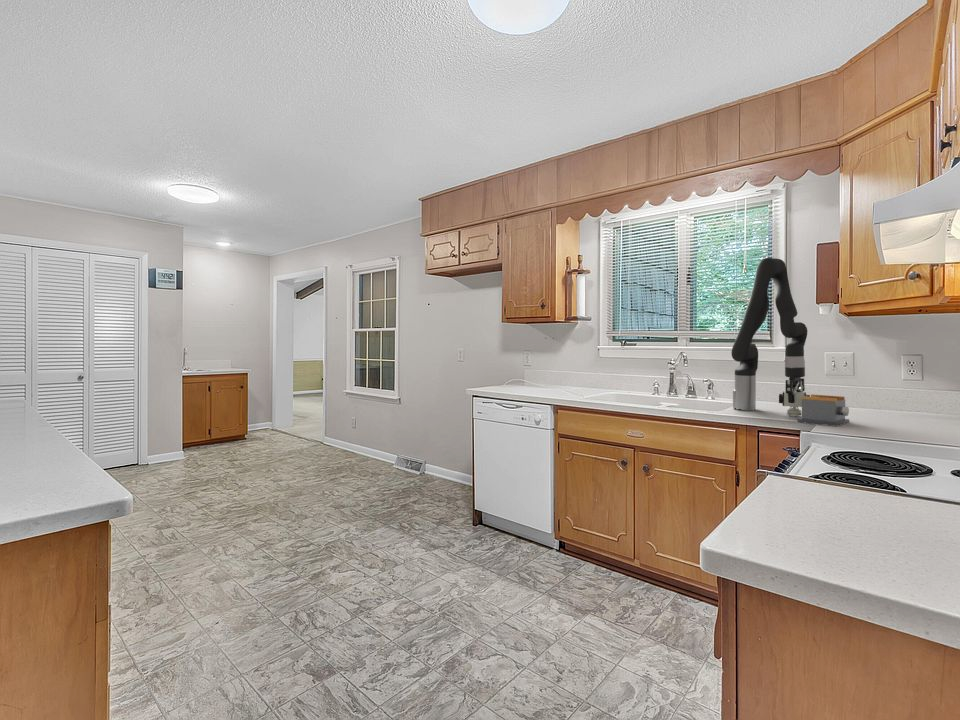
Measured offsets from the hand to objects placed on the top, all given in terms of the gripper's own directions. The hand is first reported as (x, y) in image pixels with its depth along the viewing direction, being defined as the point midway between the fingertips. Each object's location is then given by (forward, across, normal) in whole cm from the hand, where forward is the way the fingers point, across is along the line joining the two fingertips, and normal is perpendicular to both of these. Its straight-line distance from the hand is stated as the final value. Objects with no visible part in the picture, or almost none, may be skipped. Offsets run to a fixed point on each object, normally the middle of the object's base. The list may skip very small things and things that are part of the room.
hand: (795, 402), depth 217 cm
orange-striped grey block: (+7, +8, +13) cm, 17 cm away
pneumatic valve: (+7, 0, -1) cm, 7 cm away
